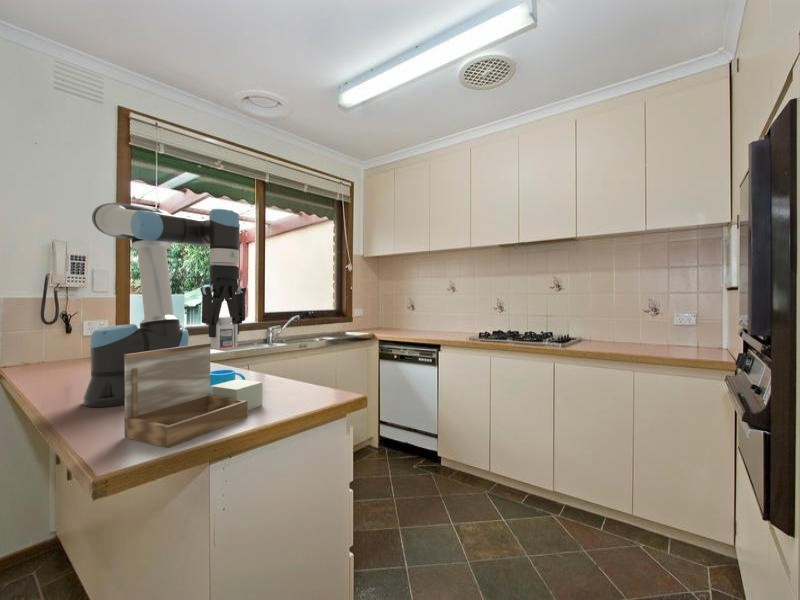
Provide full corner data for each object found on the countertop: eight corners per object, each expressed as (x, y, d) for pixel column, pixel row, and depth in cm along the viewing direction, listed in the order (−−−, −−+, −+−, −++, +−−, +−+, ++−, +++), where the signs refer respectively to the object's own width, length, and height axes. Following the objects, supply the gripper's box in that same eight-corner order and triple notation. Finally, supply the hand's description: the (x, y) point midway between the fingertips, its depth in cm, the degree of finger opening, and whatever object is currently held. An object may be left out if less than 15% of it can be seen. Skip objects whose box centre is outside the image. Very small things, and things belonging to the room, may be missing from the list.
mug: (213, 402, 120) (213, 375, 120) (204, 396, 126) (204, 372, 126) (250, 395, 129) (250, 370, 129) (240, 390, 135) (240, 367, 135)
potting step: (210, 410, 112) (210, 386, 112) (237, 401, 121) (237, 379, 121) (236, 414, 108) (236, 389, 108) (262, 405, 117) (262, 382, 117)
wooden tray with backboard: (124, 437, 91) (124, 354, 90) (207, 410, 112) (207, 343, 112) (168, 447, 85) (167, 359, 84) (247, 417, 106) (247, 346, 106)
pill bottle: (218, 347, 111) (218, 316, 111) (237, 347, 112) (237, 316, 111) (210, 350, 106) (210, 317, 106) (229, 350, 106) (230, 318, 106)
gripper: (204, 262, 99) (204, 353, 99) (259, 267, 115) (258, 344, 116) (185, 263, 102) (185, 350, 102) (241, 267, 118) (240, 343, 119)
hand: (224, 347), depth 109 cm, fingers closed on pill bottle, 5 cm apart
